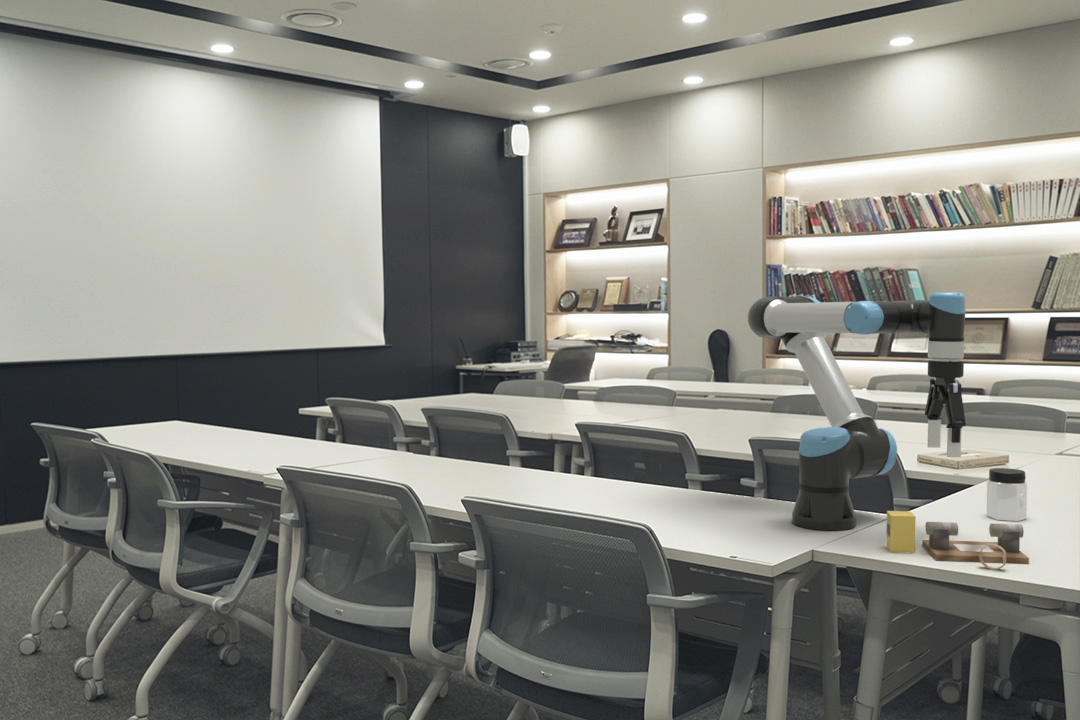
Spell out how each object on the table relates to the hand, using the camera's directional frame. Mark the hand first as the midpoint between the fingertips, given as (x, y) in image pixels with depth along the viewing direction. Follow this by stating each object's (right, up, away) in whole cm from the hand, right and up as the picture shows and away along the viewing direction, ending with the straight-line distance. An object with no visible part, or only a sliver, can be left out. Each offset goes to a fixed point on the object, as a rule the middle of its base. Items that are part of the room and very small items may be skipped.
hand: (943, 452), depth 212 cm
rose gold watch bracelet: (-1, -21, -25) cm, 33 cm away
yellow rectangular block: (-13, -21, -9) cm, 26 cm away
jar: (+25, -19, +21) cm, 37 cm away
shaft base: (0, -21, -14) cm, 25 cm away
